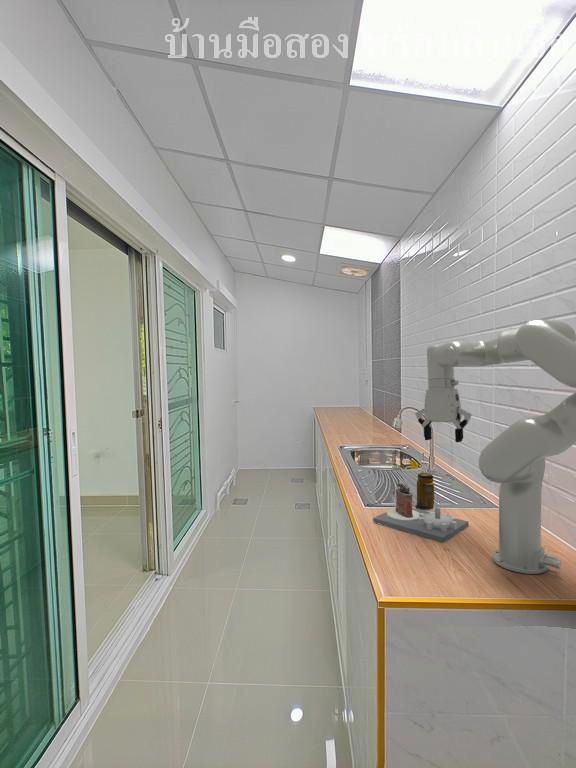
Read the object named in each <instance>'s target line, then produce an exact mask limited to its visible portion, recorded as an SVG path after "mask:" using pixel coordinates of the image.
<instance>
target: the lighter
mask: <svg viewBox="0 0 576 768" xmlns="http://www.w3.org/2000/svg"><path fill="white" fill-rule="evenodd" d="M397 487H398V488H396V489H395V493H396V494H395V495H396V496H395V500H396V501H395V502H396V504H395V505H396V507H395V508H396V512H397V513H398V514H400V515H402V516H404V517H406V518H412V517H413V514H412V508H413V497H414V494H413V492H411V489H410V488H411V487H410V486H408V484H407V483H402V482H397Z"/></svg>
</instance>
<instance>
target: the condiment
mask: <svg viewBox="0 0 576 768" xmlns="http://www.w3.org/2000/svg"><path fill="white" fill-rule="evenodd" d="M413 505H414V507H415V509H419V510H423V511H427V512H435V508H437V507H436V506H435V482H434V476H433V474H432V473H428V472H421V473H418V474H417V480H416V502H414V503H413Z"/></svg>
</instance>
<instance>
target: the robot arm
mask: <svg viewBox="0 0 576 768" xmlns="http://www.w3.org/2000/svg"><path fill="white" fill-rule="evenodd" d="M426 360H427V361H426V363H427V365H426V366H427V386H428V388H427V389H426V391H425V395H424V396H425V397H424V407H423V409H420V410H417V412H415V413H414V414H415V418H416V419H417V421H418V423H419V424H420V425H421V427H422V428H423V436H424V441H430V440H432V435H433V434H432V426H431V424H432V423H435V422H436V423H453V425H454V426H455V429H454V435H455V436H454V437H455V438H454V439H455V440H454V441H455V443H462V442H463V440H464V428H465V427H466V426H467V425H468V424H469V423H470V422H469V421H470V419H471V417H472V413H470V412H469V411H467V410H464V409H463V408H462V406H461V405H462V404H461V399H460V395H459V390H458V388H455V387H456V386H458V385H459V380H458V379H457V380H455V371H454V369H455V368H464V367H466V368H467V367H471V368H474V367H476V368H477V367H485V366H486V367H487V366H492V365H494V366H495V365H501V364H509V363H517V362H523V361H524V362H525V361H530V362H532V363H533V364H535V365H536V366H537V367H538V368H540V369H541V370H543V371H544V372H545V373H547V374H548V375H549V376H551V377H552V378H553V379H555V380H557V381H558V382H560V384H563V385H565V386H567V387H570V388H574V389H576V331H575V330H574V328H573V327H572V326H571V325H570V324H568V323H567V322H563V321H560V320H550V319H549V320H548V319H533V320H529V321H528V322H525V323H524V324H522V325H521V326H520V327H516V328H511V329H506V330H503V331H501V332H500V333H499V335H498V336H497V337H496V338H489V339H485V340H480V341H478V340H477V341H474V340H472V341H471V340H452V341H448V342H445V343H436V344H432V345H429V346H428V347H427V348H426ZM423 415H424V418H423ZM462 416H464V418H463V419H462ZM575 444H576V391H575V392H574V393H573V394H570V395H569V396H567V397H566V398H564V399H563V400H562V401H561V402H560V403H559V404H558V405H556V406H555V407H553V409H551V410H549V412H546V413H545V414H542V415H541V414H540V415H536V416H529V417H524V418H522V419H519V420H517V421H515V422H514V423H512V424H510V425H509V426H508V427H507V428H506V429H504V431H502V432H501V433H500V434H499V435H498V436H497V437H496V438H493V440H492V441H491V442H490V443H488V444H487V445H485V447H484V448H483V449H482V451H481V453H480V454H479V457H478V468H479V471H480V473H481V474H482V475H483V477H485V478H486V479H487V480H489V481H490V482H492V483H496V484H500V485H499V493H498V549H496V550H494V551H493V552H492V553H491V554H492V558H491V559H492V560H493V562H494V563H495V564H496V565H498V566H500V567H501V568H503V569H505V570H509V571H511V572H515V573H521V574H526V575H538V574H542V573H545V572H546V571H548V569H549V567H551V568H553V569H554V568H555V569H558V570H561V566H562V562H561V560H559V559H558V557H557V556H554V555H549V554H547V553H546V549H545V547H543V546H542V494H543V493H542V489H543V481H544V475H545V471H546V458H547V457H548V458H549V457H553V456H554V457H555V456H558V455H560V454H562V453H565V452H566V451H567V450H569V449H570V448H572V446H574V445H575Z"/></svg>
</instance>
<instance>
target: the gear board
mask: <svg viewBox="0 0 576 768" xmlns="http://www.w3.org/2000/svg"><path fill="white" fill-rule="evenodd" d="M412 514H413V517H412V518H406V517H404V516H402V515H400V514H398V513H397V512H396V507H395V508H391V509H388V510H387V511H385V512H383V513H381V514H379V515H377V516H374V517H373V518H372V522H373V521H374V522H377V523H380V524H382V525H381V526H384V525H386V526H385V527H387V526H388V527H387V528H392V529H395V530H397V531H402V532H405V533H409V534H412V535H415V536H419V537H423V538H425V539H429V540H432V541H436V542H440V543H445V542H447V541H448V540H449V539H451V538H452V537H454V536H455V535H457V534H458V533H461V532H462V531H464V529H467V528H468V527H469V526H470V523H469V520H464V519H460V518H458V517H456V516H449V513H447V512H443V513H441V507H436V508H435V511H423V510H419V509H416V508H414V507H412ZM377 523H376V524H377ZM380 524H379V525H380Z"/></svg>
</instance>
